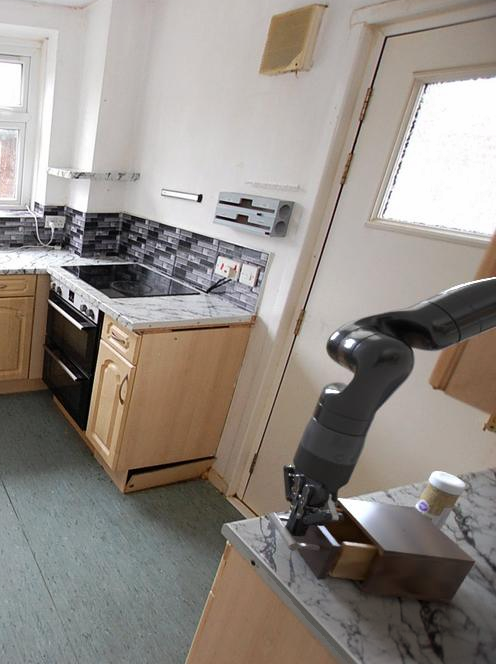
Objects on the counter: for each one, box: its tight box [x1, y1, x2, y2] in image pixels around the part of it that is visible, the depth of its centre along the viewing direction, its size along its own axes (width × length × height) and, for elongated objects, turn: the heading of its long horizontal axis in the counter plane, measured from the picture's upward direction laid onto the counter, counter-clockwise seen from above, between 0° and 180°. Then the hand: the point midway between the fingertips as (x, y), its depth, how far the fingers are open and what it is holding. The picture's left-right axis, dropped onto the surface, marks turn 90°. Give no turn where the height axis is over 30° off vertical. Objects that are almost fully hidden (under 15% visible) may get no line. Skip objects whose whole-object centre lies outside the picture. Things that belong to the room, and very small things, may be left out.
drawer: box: [267, 508, 379, 581], centre depth 78 cm, size 18×10×7 cm, turn 86°
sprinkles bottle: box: [414, 470, 467, 531], centre depth 85 cm, size 5×5×14 cm
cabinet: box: [334, 497, 477, 605], centre depth 77 cm, size 14×12×9 cm
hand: (294, 532), depth 78 cm, fingers closed
